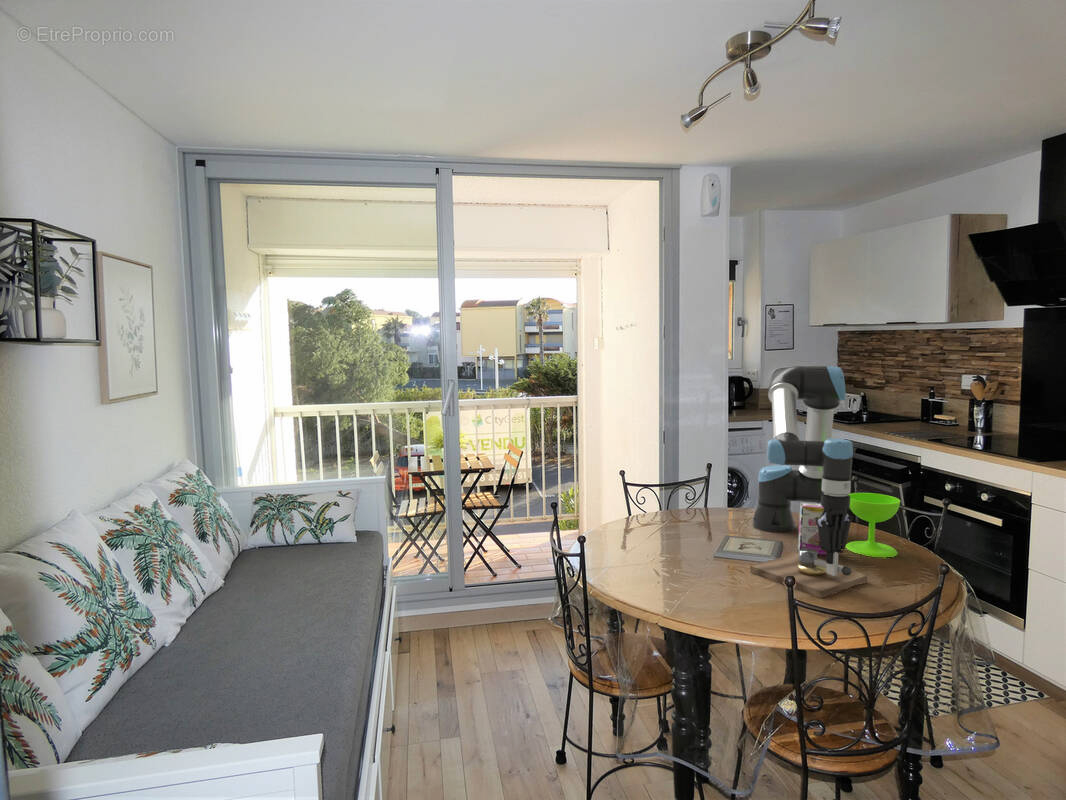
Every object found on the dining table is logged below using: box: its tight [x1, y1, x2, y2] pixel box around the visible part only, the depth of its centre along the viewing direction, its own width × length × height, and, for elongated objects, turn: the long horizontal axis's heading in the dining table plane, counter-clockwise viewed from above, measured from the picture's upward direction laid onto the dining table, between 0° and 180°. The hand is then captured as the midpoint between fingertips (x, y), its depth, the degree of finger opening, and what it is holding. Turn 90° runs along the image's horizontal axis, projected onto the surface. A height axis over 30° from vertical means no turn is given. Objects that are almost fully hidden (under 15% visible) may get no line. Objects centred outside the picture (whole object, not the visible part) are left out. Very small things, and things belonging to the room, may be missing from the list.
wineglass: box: [845, 492, 901, 559], centre depth 218 cm, size 16×16×18 cm
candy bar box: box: [797, 502, 826, 556], centre depth 216 cm, size 11×5×16 cm, turn 74°
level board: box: [749, 552, 868, 599], centre depth 195 cm, size 24×22×2 cm
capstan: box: [798, 548, 853, 576], centre depth 190 cm, size 16×8×6 cm, turn 34°
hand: (831, 574), depth 187 cm, fingers closed
